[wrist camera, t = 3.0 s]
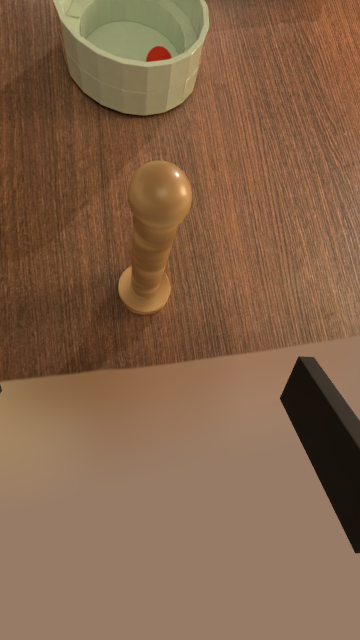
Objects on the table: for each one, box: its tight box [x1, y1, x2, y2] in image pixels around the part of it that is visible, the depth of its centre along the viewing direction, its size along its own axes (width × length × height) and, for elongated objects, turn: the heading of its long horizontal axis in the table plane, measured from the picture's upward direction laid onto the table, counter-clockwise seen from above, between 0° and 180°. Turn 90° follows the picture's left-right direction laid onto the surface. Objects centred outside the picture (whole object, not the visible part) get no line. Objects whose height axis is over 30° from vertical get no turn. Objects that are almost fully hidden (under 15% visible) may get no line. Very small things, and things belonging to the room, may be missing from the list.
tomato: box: [146, 46, 172, 62], centre depth 34 cm, size 3×3×3 cm
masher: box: [118, 161, 192, 315], centre depth 22 cm, size 5×5×17 cm
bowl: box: [53, 0, 209, 116], centre depth 33 cm, size 15×15×6 cm
